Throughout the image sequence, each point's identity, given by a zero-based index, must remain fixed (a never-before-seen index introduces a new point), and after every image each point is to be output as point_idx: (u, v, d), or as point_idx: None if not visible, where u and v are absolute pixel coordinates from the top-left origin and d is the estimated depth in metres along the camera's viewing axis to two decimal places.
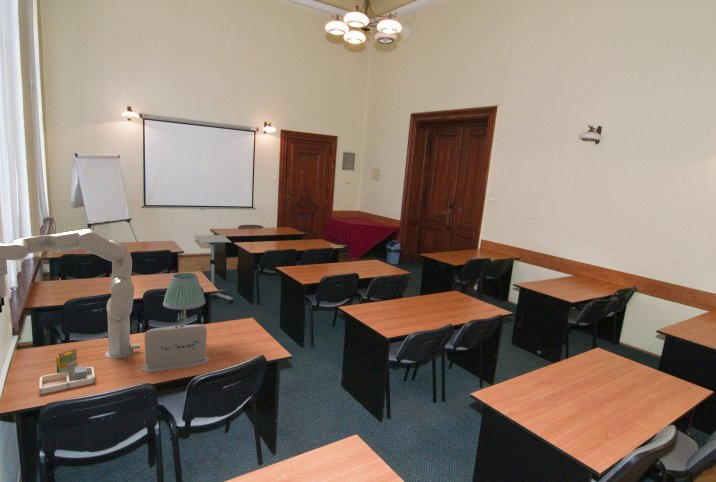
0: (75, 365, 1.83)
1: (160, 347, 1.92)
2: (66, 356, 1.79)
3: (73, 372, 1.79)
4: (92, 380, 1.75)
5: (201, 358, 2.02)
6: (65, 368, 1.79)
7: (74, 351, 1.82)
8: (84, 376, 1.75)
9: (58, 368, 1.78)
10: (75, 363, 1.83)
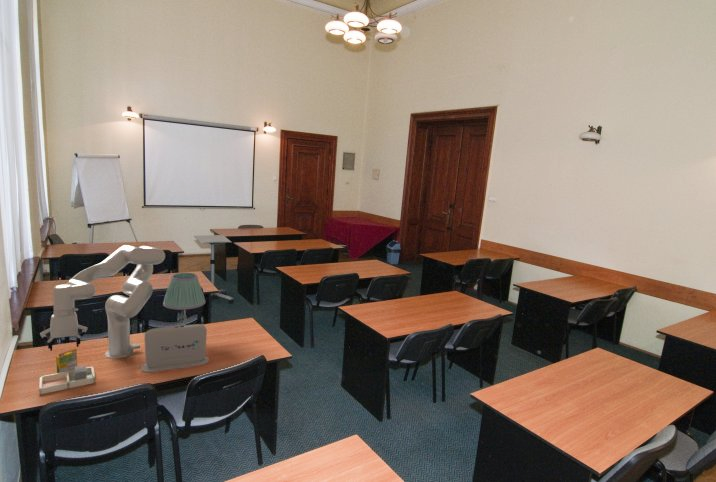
0: (75, 365, 1.83)
1: (160, 347, 1.92)
2: (66, 356, 1.79)
3: (73, 372, 1.79)
4: (92, 380, 1.75)
5: (201, 358, 2.02)
6: (65, 368, 1.79)
7: (74, 351, 1.82)
8: (84, 376, 1.75)
9: (58, 368, 1.78)
10: (75, 363, 1.83)
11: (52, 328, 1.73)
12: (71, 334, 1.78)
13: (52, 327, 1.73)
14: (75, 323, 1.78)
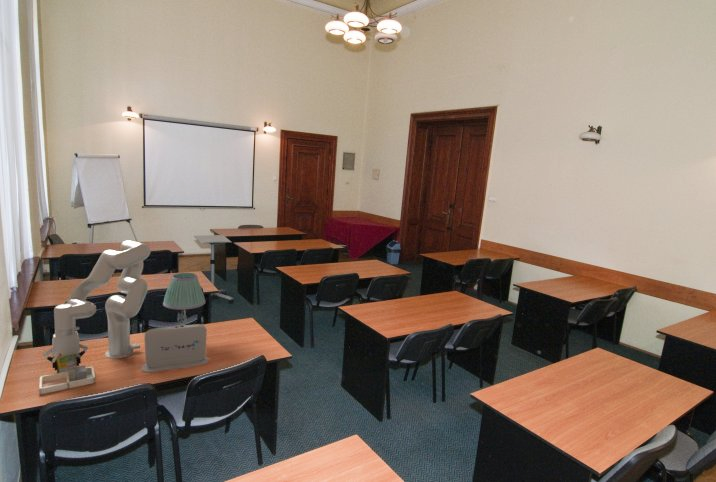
0: (75, 365, 1.83)
1: (160, 347, 1.92)
2: (66, 356, 1.79)
3: (73, 372, 1.79)
4: (92, 380, 1.75)
5: (201, 358, 2.02)
6: (65, 368, 1.79)
7: None
8: (84, 376, 1.75)
9: (58, 368, 1.78)
10: (75, 363, 1.83)
11: (54, 348, 1.75)
12: (73, 353, 1.80)
13: (53, 347, 1.75)
14: (76, 342, 1.80)
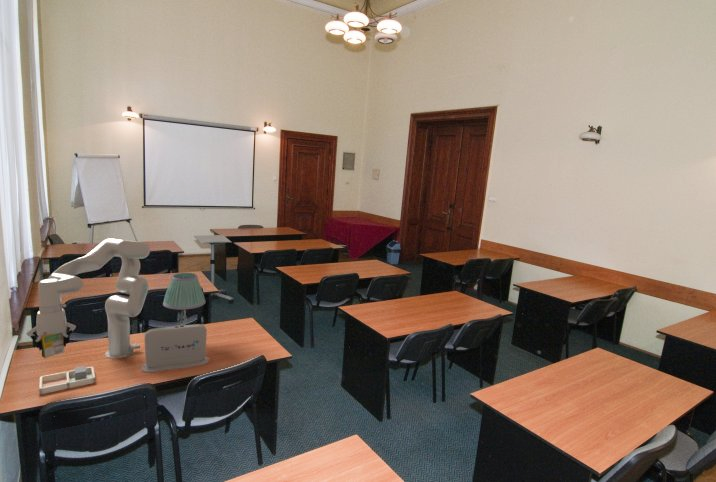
0: (61, 345, 1.70)
1: (160, 347, 1.92)
2: (51, 335, 1.66)
3: (73, 372, 1.79)
4: (92, 380, 1.75)
5: (201, 358, 2.02)
6: (50, 348, 1.66)
7: None
8: (84, 376, 1.75)
9: (43, 348, 1.65)
10: (61, 343, 1.70)
11: (38, 326, 1.62)
12: (59, 332, 1.67)
13: (38, 324, 1.62)
14: (63, 320, 1.67)
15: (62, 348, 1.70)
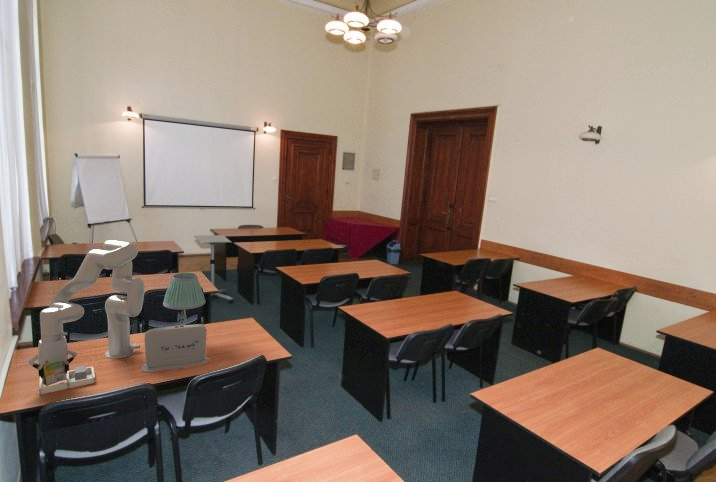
0: (63, 372, 1.72)
1: (160, 347, 1.92)
2: (53, 363, 1.68)
3: (73, 372, 1.79)
4: (92, 380, 1.75)
5: (201, 358, 2.02)
6: (52, 376, 1.69)
7: None
8: (84, 376, 1.75)
9: (44, 376, 1.67)
10: (63, 370, 1.72)
11: (40, 354, 1.64)
12: (60, 359, 1.69)
13: (39, 353, 1.64)
14: (64, 348, 1.69)
15: (63, 375, 1.72)
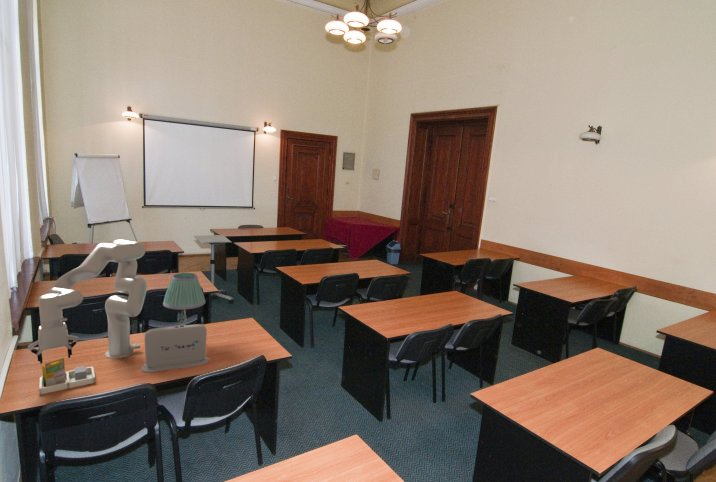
0: (63, 375, 1.72)
1: (160, 347, 1.92)
2: (53, 366, 1.69)
3: (73, 372, 1.79)
4: (92, 380, 1.75)
5: (201, 358, 2.02)
6: (52, 378, 1.69)
7: (62, 360, 1.71)
8: (84, 376, 1.75)
9: (44, 379, 1.67)
10: (63, 373, 1.72)
11: (40, 340, 1.64)
12: (61, 345, 1.69)
13: (40, 339, 1.64)
14: (65, 334, 1.69)
15: (63, 378, 1.73)
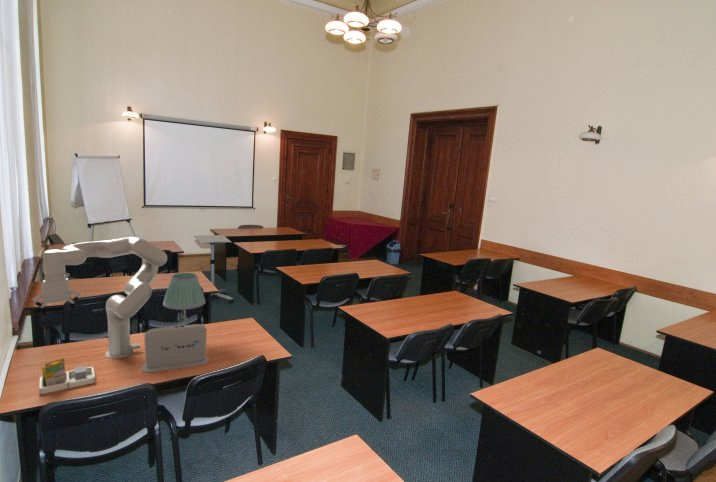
0: (63, 375, 1.72)
1: (160, 347, 1.92)
2: (53, 366, 1.69)
3: (73, 372, 1.79)
4: (92, 380, 1.75)
5: (201, 358, 2.02)
6: (52, 378, 1.69)
7: (62, 360, 1.71)
8: (84, 376, 1.75)
9: (44, 379, 1.67)
10: (63, 373, 1.72)
11: (44, 293, 1.73)
12: (64, 299, 1.78)
13: (44, 292, 1.73)
14: (67, 288, 1.78)
15: (63, 378, 1.73)
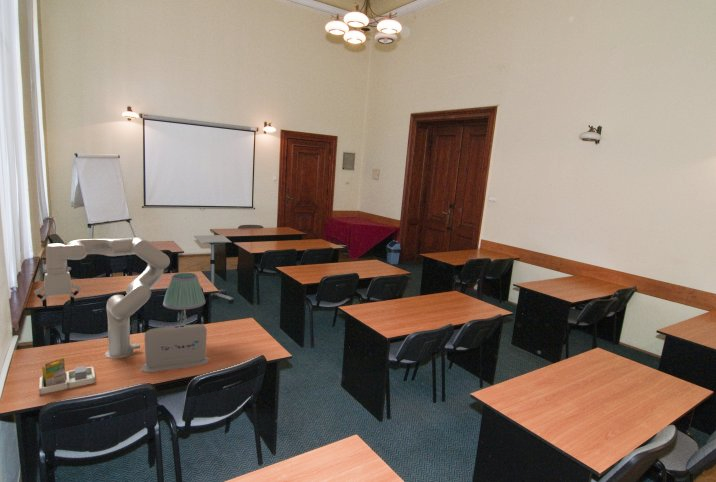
0: (63, 375, 1.72)
1: (160, 347, 1.92)
2: (53, 366, 1.69)
3: (73, 372, 1.79)
4: (92, 380, 1.75)
5: (201, 358, 2.02)
6: (52, 378, 1.69)
7: (62, 360, 1.71)
8: (84, 376, 1.75)
9: (44, 379, 1.67)
10: (63, 373, 1.72)
11: (46, 286, 1.77)
12: (65, 292, 1.82)
13: (45, 285, 1.77)
14: (68, 282, 1.82)
15: (63, 378, 1.73)
